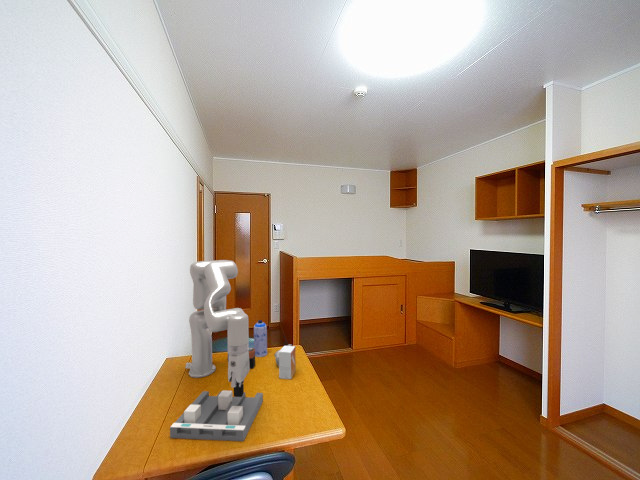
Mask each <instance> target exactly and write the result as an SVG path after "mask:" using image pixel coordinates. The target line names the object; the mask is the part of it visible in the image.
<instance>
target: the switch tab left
mask: <svg viewBox="0 0 640 480" xmlns="http://www.w3.org/2000/svg"><path fill="white" fill-rule="evenodd" d="M183 413H184V423H192V424H195V423H196V421H197V420H198V419H199V418H200V416H201V405H193V404H192V403H191V404H189V405H188V406H187V408H186V409H185V410H184V411H183Z"/></svg>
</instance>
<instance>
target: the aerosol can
mask: <svg viewBox="0 0 640 480" xmlns="http://www.w3.org/2000/svg"><path fill="white" fill-rule="evenodd" d="M267 328H268V327H267V324H266V323H265V322H264V321H263V319H262V320H261V319H259V320H258V321H257V322H256V323H255V324H254V326H253V349H255V358H262V357H266V356H267V355H268V330H267Z"/></svg>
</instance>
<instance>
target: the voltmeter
mask: <svg viewBox="0 0 640 480" xmlns="http://www.w3.org/2000/svg"><path fill="white" fill-rule="evenodd" d="M282 337H283V338H284V339H285V340H284V342H283V346H293V344H290V343H289V344H288V340H287V338H286V336H285V335H284V334H283V335H282ZM280 350H281V349H279V350H276V352H275V353H274V358H275V359H274V360H275V363H276V365H277V366H278V367H279V351H280Z"/></svg>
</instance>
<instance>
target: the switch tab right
mask: <svg viewBox="0 0 640 480" xmlns="http://www.w3.org/2000/svg"><path fill="white" fill-rule="evenodd" d="M227 414H228V425H239V424H240V423H241V421H242V419H243V406H232V407H231V408H230V410H229V411H228V413H227Z"/></svg>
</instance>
